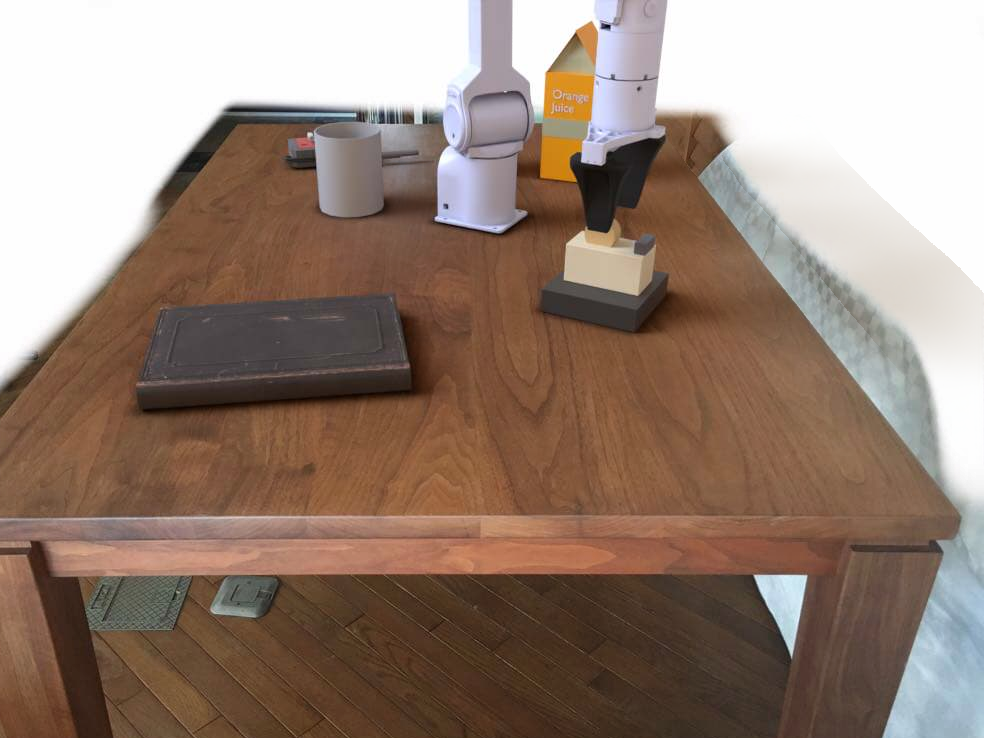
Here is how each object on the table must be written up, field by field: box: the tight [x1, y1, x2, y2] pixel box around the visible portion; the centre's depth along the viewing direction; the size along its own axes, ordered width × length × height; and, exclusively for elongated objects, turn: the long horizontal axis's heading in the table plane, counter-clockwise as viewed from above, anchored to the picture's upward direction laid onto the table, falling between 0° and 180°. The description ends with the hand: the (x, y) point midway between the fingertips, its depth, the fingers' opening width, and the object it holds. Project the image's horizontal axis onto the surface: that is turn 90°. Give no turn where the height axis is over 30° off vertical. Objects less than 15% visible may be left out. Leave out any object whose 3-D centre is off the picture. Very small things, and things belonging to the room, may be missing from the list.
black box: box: [540, 269, 670, 333], centre depth 93 cm, size 10×10×2 cm
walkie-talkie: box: [283, 132, 420, 169], centre depth 136 cm, size 9×4×20 cm
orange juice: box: [539, 20, 599, 183], centre depth 126 cm, size 8×9×20 cm
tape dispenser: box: [563, 217, 657, 296], centre depth 91 cm, size 8×4×7 cm, turn 60°
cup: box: [313, 121, 385, 218], centre depth 117 cm, size 8×8×10 cm
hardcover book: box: [135, 292, 412, 410], centre depth 83 cm, size 16×23×2 cm
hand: (612, 218), depth 89 cm, fingers open, 7 cm apart
